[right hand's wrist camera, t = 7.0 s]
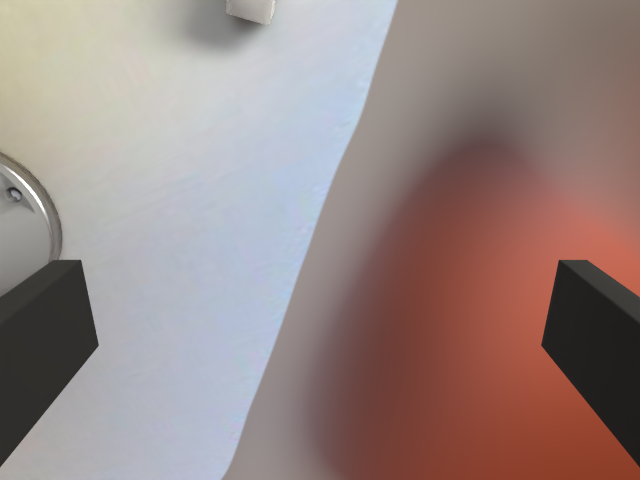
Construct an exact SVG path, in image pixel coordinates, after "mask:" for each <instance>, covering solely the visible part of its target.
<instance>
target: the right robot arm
mask: <svg viewBox="0 0 640 480" xmlns="http://www.w3.org/2000/svg"><path fill="white" fill-rule="evenodd" d="M61 245H62V231H61V225H60V220H59V217H58V214H57V211H56V209H55V206H54V204H53V202H52V200H51V198H50V197H49V195H48V193H47V192H46V190H45V189H44V188H43V186H42V185H41V184H40V183H39V181H38V180H37V179H36V178H35V177H34V176H33V175H32V174H31V173H30V172H29V171H28V170H27V169H25V168H24V167H23V166H22V165H20V164H19V163H18V162H16V161H15V160H13V159H12V158H10V157H8V156H6V155H5V154H3V153H1V152H0V467H1V466H2V464H3V463H4V462H5V461H6V459H7V458H8V457H9V456H10V455H11V453H12V452H13V451H14V450H15V448H16V447H17V446H18V445H19V443H20V442H21V441H22V440H23V438H24V437H25V436H26V435H27V434H28V432H29V431H30V430H31V429H32V427H33V426H34V425H35V424H36V422H37V421H38V420H39V419H40V417H41V416H42V415H43V414H44V413H45V411H46V410H47V409H48V408H49V406H50V405H51V404H52V403H53V401H54V400H55V399H56V398H57V396H58V395H59V394H60V393H61V392H62V390H63V389H64V388H65V387H66V385H67V384H68V383H69V382H70V380H71V379H72V378H73V377H74V375H75V374H76V373H77V372H78V370H79V369H80V368H81V367H82V366H83V364H84V363H85V362H86V361H87V359H88V358H89V357H90V356H91V354H92V353H93V352H94V351H95V349H96V348H97V347H98V346H99V344H98V340H97V335H96V330H95V325H94V320H93V315H92V311H91V306H90V301H89V296H88V291H87V287H86V282H85V277H84V272H83V267H82V262H81V260H58V258H59V255H60V251H61ZM541 346H542V347H543V348H544V349H545V351H546V352H547V353H548V354H549V356H550V357H551V358H552V359H553V361H554V362H555V363H556V364H557V365H558V367H559V368H560V369H561V370H562V372H563V373H564V374H565V375H566V377H567V378H568V379H569V380H570V382H571V383H572V384H573V385H574V386H575V388H576V389H577V390H578V392H579V393H580V394H581V395H582V396H583V398H584V399H585V400H586V401H587V403H588V404H589V405H590V406H591V408H592V409H593V410H594V411H595V412H596V414H597V415H598V416H599V417H600V419H601V420H602V421H603V422H604V424H605V425H606V426H607V427H608V429H609V430H610V431H611V432H612V434H613V435H614V436H615V437H616V438H617V440H618V441H619V442H620V443H621V445H622V446H623V447H624V448H625V450H626V451H627V452H628V453H629V455H630V456H631V457H632V458H633V459H634V461H635V462H636V463H637V464H638V466H639V467H640V297H639V296H637V295H636V294H634V293H633V292H631V291H630V290H629V289H627V288H626V287H624V286H623V285H622V284H620V283H619V282H617V281H616V280H615V279H613V278H612V277H610V276H609V275H607V274H606V273H604V272H603V271H602V270H600V269H599V268H598V267H596V266H595V265H593V264H592V263H590V262H589V261H588V260H559V262H558V267H557V272H556V277H555V282H554V287H553V291H552V296H551V301H550V306H549V311H548V315H547V320H546V325H545V330H544V335H543V340H542V344H541Z"/></svg>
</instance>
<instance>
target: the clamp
mask: <svg viewBox="0 0 640 480" xmlns="http://www.w3.org/2000/svg"><path fill="white" fill-rule="evenodd" d="M275 3H276V0H226V13H227V14H230V15H233V16H237V17H240V18H244V19H247V20H250V21H254V22H257V23H261V24H264V25H268V24H269V23H270V21H271V18H272V16H273V13H274V10H275Z"/></svg>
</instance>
